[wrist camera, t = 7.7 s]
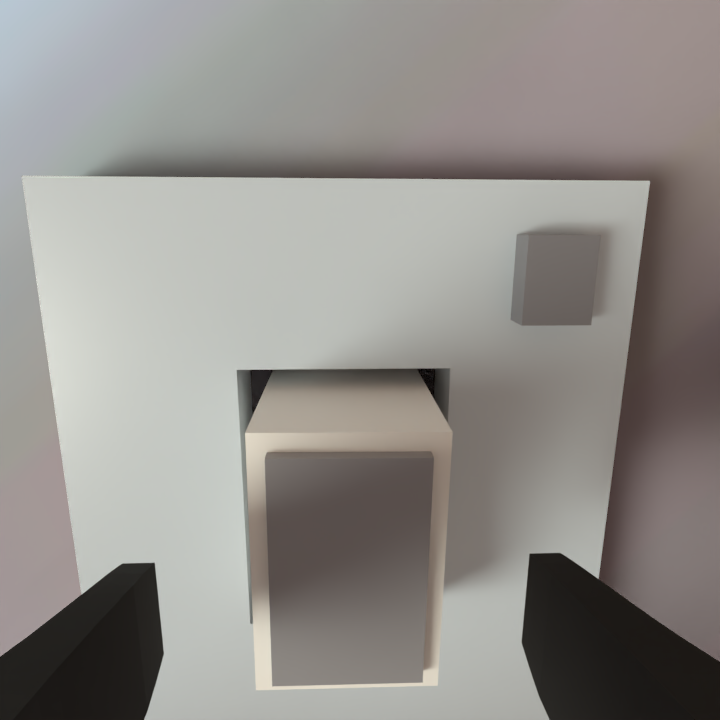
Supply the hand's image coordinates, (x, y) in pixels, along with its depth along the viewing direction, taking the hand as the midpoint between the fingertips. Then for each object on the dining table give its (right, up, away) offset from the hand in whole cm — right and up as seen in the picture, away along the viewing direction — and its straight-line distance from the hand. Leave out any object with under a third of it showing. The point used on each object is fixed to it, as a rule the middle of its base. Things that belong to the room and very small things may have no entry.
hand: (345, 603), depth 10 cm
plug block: (0, +2, +6) cm, 6 cm away
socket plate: (0, +1, +6) cm, 6 cm away
